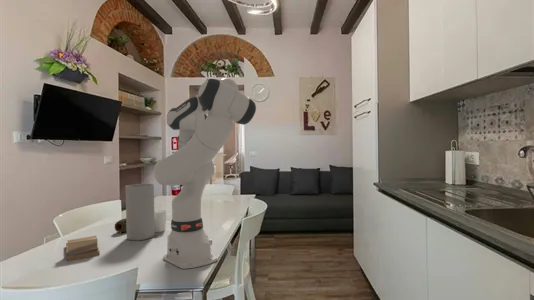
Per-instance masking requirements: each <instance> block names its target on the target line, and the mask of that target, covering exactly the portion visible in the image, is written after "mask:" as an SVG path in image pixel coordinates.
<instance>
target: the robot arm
mask: <svg viewBox="0 0 534 300" xmlns="http://www.w3.org/2000/svg"><path fill="white" fill-rule="evenodd" d="M256 110H257V106H256V103H255V102H254V100H253V99H252V98H250V97H249V96H246V95H245V94H243V93H242V92H241V91H239V85H238V84H237V83H236V81H235V80H233V79H231V78H228V77H225V78H224V77H223V78H221V79H218V78H214V77H209V78H207V79H206V80H204V82H203V83H202V84H201V85H200V86H199V88H198V94H197V95H195V96H192V97H189V98H188V99H186V100H184V102H182V103H181V104H179V105H178V106H176V107H173V108H171V109H169V111H168V112H167V114H166V123H167V126H168V127H170V129H172V130H173V131H174V130H175V131H179V133H178V136H177V138H176V139H177V140H176V141H177V146H178V148H177V149H178V150H176V151H175V152H173V153H172V154H169V155H168V156H167V157H164V158H162V159H159V160H158V161H157V162H156V163H155V165H154V167H153V168H154V169H153V177H154V178H155V181H156V182H157V183H158V184H160V185H161V186H170V187H171V186H172V187H174V186H181V185H182V187H181V189H180V192H179V193H177V194H176V195H175V196H174V198H173V199H172V202H171V217H172V218H171V221H170V229H171V231H170V233H169V234H168V236H167V245H166V246H167V247H166V254H164V255H163V258H162V259H163V260H164V261H166V262H167V263H170V264H172V265H173V266H175V267H178V268H180V269H182V270H183V269H193V268H199V267H204V266H207V265H211V264H212V263H215V262H217V261H218V257H217V256H216V254H215V253H214V251H213V250H212V249H211V246H213V239H209V236H208V234H206V232H205V230H204V222H203V217H202V198H203V197H202V196H203V193H204V190H205V188H206V185H207V184H208V182H209V181H210V180H211V179H212V178H213V176H214V173H215V164H214V162H213V159H214V158H215V157H216V155H217V154H218V153H219V152H220V150H221V149H222V148H223V147H224V145H225V144H226V142H227V141H228V139H229V138H230V136H231V134H232V132H233V128H234V122H235V123H236V124H238V125H243V126H244V125H246V124H249V123H250V122H251V120H252V119H253V118H254V116H255V115H256Z"/></svg>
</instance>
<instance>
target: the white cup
mask: <svg viewBox="0 0 534 300" xmlns="http://www.w3.org/2000/svg"><path fill="white" fill-rule="evenodd" d="M154 218H155V233H162V232H164V231H166V227H167V226H166V224H167V223H166V222H167V210H165V209H154Z"/></svg>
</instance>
